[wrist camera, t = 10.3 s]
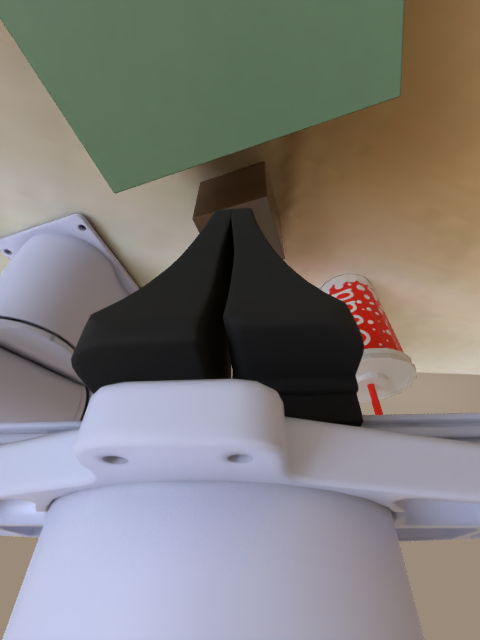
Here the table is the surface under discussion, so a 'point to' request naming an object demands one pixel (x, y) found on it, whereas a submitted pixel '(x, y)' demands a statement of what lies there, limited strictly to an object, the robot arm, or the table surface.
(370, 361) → the beverage cup
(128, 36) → the lid
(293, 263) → the table surface
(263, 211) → the block
